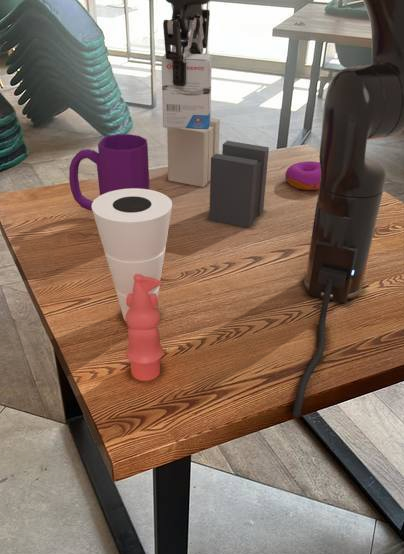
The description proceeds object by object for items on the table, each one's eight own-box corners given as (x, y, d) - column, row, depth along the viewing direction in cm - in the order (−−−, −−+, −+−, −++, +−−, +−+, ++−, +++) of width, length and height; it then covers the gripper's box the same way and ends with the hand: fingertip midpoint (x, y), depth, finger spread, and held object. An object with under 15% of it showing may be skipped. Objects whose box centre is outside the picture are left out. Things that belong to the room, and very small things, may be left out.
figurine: (165, 358, 79) (162, 263, 70) (165, 383, 75) (162, 285, 66) (128, 358, 79) (120, 263, 70) (126, 383, 75) (117, 285, 66)
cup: (188, 317, 87) (188, 205, 76) (134, 346, 81) (125, 230, 70) (143, 289, 93) (137, 182, 82) (89, 315, 87) (75, 203, 76)
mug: (146, 230, 109) (142, 151, 100) (67, 225, 111) (56, 146, 101) (155, 210, 116) (152, 134, 107) (80, 205, 118) (71, 130, 108)
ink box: (211, 121, 109) (213, 53, 101) (208, 130, 105) (210, 59, 98) (166, 119, 109) (165, 50, 102) (162, 127, 106) (160, 57, 98)
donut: (314, 173, 133) (317, 154, 130) (340, 189, 126) (343, 169, 123) (276, 180, 130) (278, 160, 127) (300, 197, 123) (303, 176, 120)
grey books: (249, 228, 111) (254, 161, 103) (208, 219, 114) (210, 154, 105) (263, 211, 117) (269, 147, 109) (224, 203, 120) (227, 140, 111)
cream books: (203, 187, 126) (204, 130, 118) (167, 180, 129) (166, 124, 121) (217, 174, 132) (219, 119, 124) (183, 168, 135) (183, 113, 127)
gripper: (190, -26, 85) (189, 94, 96) (226, -35, 96) (221, 74, 106) (146, -30, 88) (149, 88, 98) (185, -38, 98) (184, 69, 109)
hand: (187, 80), depth 102 cm, fingers closed on ink box, 5 cm apart
